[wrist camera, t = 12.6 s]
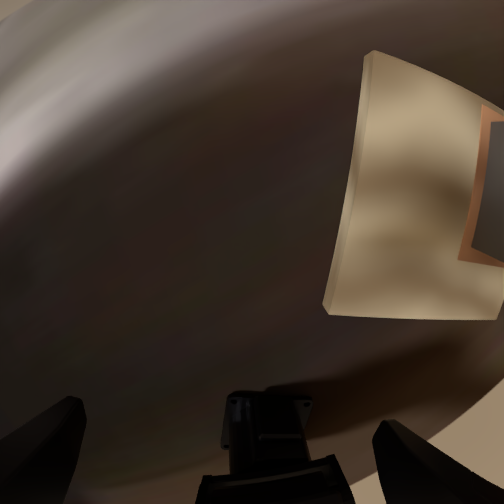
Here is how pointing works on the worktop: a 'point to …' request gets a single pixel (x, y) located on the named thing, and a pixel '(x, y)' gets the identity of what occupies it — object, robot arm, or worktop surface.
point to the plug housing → (492, 199)
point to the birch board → (415, 201)
